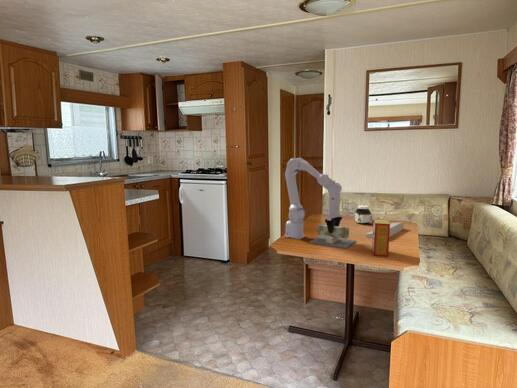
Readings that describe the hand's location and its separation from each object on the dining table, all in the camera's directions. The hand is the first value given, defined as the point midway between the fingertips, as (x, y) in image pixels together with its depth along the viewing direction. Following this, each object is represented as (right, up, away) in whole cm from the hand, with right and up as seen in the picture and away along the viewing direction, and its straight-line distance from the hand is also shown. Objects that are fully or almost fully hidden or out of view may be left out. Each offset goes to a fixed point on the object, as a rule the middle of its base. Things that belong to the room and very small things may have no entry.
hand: (333, 231), depth 195 cm
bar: (0, -2, 0) cm, 2 cm away
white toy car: (+31, 0, +46) cm, 55 cm away
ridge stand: (0, -6, +1) cm, 6 cm away
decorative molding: (+35, -4, +22) cm, 41 cm away
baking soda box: (+19, -9, -18) cm, 27 cm away
